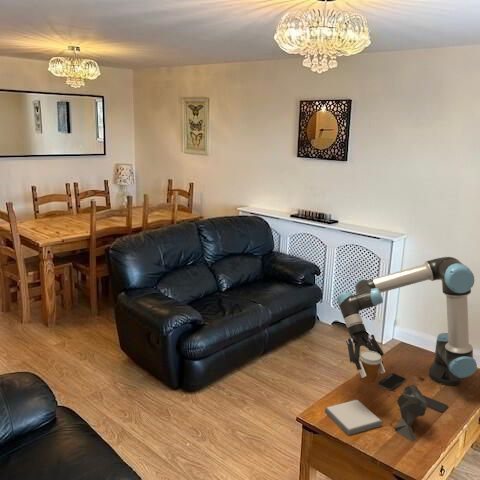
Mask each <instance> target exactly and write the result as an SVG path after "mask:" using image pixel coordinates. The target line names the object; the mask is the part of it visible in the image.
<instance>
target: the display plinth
mask: <svg viewBox="0 0 480 480" xmlns="http://www.w3.org/2000/svg"><path fill="white" fill-rule="evenodd" d="M324 413H325V414H326V415H327V416H328V417H329V418H330V419H331V420H332V421H333V423H335V424H336V425H337V426H338V427H339V428H340V429H341V430H342V432H343V433H345V434H346V435H347V436H352V435H355V434H359V433H362V432H365V431H369V430H372V429H376V428H380V427H382V424H383V421H382V419H380V418H379V417H378V416H377V415H376V414H375V413H373V411H371V410H370V409H369V408H368V407H367V406H365V405H364V404H363V403H362V402H361V401H359V400H358V399H353V400H349V401H346V402H341V403H338V404H334V405H329V406H326V407H325V408H324Z"/></svg>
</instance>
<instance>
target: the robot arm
mask: <svg viewBox="0 0 480 480" xmlns="http://www.w3.org/2000/svg"><path fill="white" fill-rule="evenodd" d="M439 280H441V285H442V286H441V287H442V293H443V294H444V295H445V297H446V316H447V317H446V318H447V321H446V322H447V332H441V333H439V334H438V335H437V338H436V344H435V352H434V358H433V362H432V363H431V366H430V367H429V369H428V374H427V375H428V377H429V378H430V379H431V380H433V381H434V382H436V383H438V384H441V385H444V386H445V385H446V386H457V385H460V384H461V382H462V378H463V379H465V378H469V377H471V376H472V375H473V374H474V373H475V372H476V371H477V368H478V364H477V361H476V359H475V358H474V349H473V348H474V347H473V345H472V344H471V343H470V342H469V341H470V337H469V336H470V335H469V310H468V309H469V308H468V306H469V305H468V296H469V295H470V294H471V293H472V288H473V287H474V285H475V276H474V273H473V271H472V270H471V269H470V267H468V266H467V265H466V264H464V263H463V262H461V261H460V260H459V259H457V258H455V257H454V256H453V257H451V256H443V257H437V258H434V259H433V258H432V259H429V260H426V261H424V263H423V264H420V265H416V266H413V267H410V268H409V267H408V268H406V269H403V270H400V271H399V270H398V271H395V272H392V273H389V274H385V275H381V276H378V277H375V278H371V279H365V278H361V279H358V280H357V281H356V282H355V284H354V290H355V294H353V293H352V292H351V291H347V292H342V293H340V294H339V295H337V298H336V300H337V304H338V308H339V310H340V313H341V315H342V318H343V320H344V323H345V326H346V328H347V331H348V334H349V336H350V338H347V339H346V340H345V342H346V345H347V349H348V351H347V352H348V356H349V357H348V358H349V363H353V364H354V365H355V367H356V369H357V371H359V374H360V378H361V377H362V378H364V377H365V376H366V373H365V370H364V368H363V365H362V362H361V361H360V358H359V355H360V354H361V346H362V347H365V348H367V349H368V351H374V352H377V353H378V354H380V355H381V358H382V356H384V355H385V353H384V351H383V350H382V348H381V347H380V345H379V343H378V342H377V340H376V338H375V335H374V334H370V335H368V334H367V329H366V327H365V324H364V321H363V319H362V315H361V313H360V311H363V310H366V309H369V308H372V307H376V306H378V305H380V304H381V305H382V304H383V302H384V301H383V300H384V299H383V297H382V294H381V293H384V292H388V291H392V290H395V289H400V288H403V287H407V286H412V285H413V284H414V285H415V284H418V283H422V282H424V281H432V282H435V281H439ZM378 372H379V373H380V375H381V374H382V375H383V374H384V373H386V370H385V367H384V361H383V360H382V361H381V363H380V366H379V370H378Z"/></svg>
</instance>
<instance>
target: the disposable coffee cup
mask: <svg viewBox="0 0 480 480" xmlns="http://www.w3.org/2000/svg"><path fill="white" fill-rule="evenodd" d="M359 361H361V362H362V365H363V368H364V370H365V373H366V376H365V377H364V378H362V377H361V376H360V381H362V383H365V384H368V385H373V384H375V383H376V380H377V377H378V373H379V366H380V363H381V361H383V358H382V357H381V355H380V354H378V353H377V352H374V351H369V350H363V351H360V354H359Z"/></svg>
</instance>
